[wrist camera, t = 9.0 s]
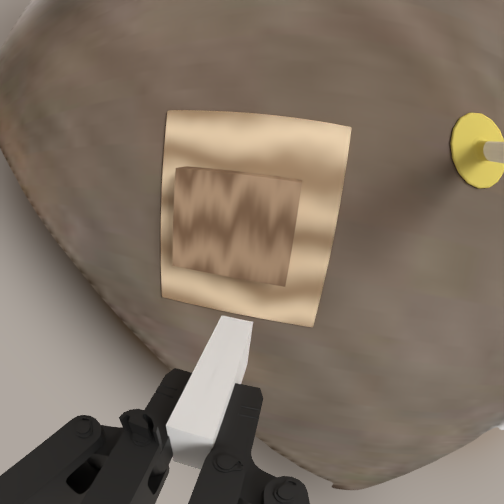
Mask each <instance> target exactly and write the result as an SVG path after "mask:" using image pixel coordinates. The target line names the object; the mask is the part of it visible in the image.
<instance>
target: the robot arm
mask: <svg viewBox="0 0 504 504" xmlns="http://www.w3.org/2000/svg"><path fill="white" fill-rule="evenodd" d="M252 326H253V322H251V321H246V320H241V319H236V318H231V317H226V316H221V318H220V320H219V322H218V324H217V326H216V328H215V330H214V332H213V334H212V336H211V338H210V340H209V342H208V343H207V345H206V347H205V349H204V351H203V353H202V355H201V357H200V359H199V361H198V363H197V365H196V367H195V369H194V371H193V373H190V372H187V371H183V370H180V369H176V368H175V369H173V370H172V371H170V372H169V373H168V374H166V375H165V377H164V378H163V380H162V382H161V384H160V386H159V387H158V388H157V390H156V393H154V395H153V397H152V398H151V400H150V402H149V403H148V405H147V407H146V408H145V410H140V409H133V410H129V411H127V412H124V413H123V414H122V415H121V416H120V417H119V419H120V421H121V423H122V426H123V428H118V427H110V426H103V425H100V423H99V422H98V421H97V420H96V419H95V418H93V417H91V416H86V415H81V416H77V417H75V418H74V419H72V420H71V421H69V422H68V423H67V424H65V425H64V426H63V427H62V428H60V429H59V430H58V431H57V432H56V433H54V434H53V435H52V436H51V437H49V438H48V439H47V440H45V441H44V442H43V443H42V444H41V445H39V446H38V447H37V448H35V449H34V450H33V451H32V452H30V453H29V454H28V455H26V456H25V457H24V458H23V459H21V460H20V461H19V462H18V463H16V464H15V465H14V466H12V467H11V468H10V469H8V470H7V471H6V472H5V473H3V474H2V475H1V476H0V504H155V502H156V500H157V498H158V496H159V494H160V491H161V489H162V487H163V485H164V481H165V480H166V478H167V476H168V473H169V463H170V461H171V458H172V456H173V460H174V461H176V462H179V463H182V464H185V465H188V466H191V467H195V468H198V469H201V471H200V474H199V477H198V479H197V482H196V485H195V487H194V490H193V492H192V495H191V498H190V501H189V503H188V504H310V503H309V497H308V492H307V489H306V487H305V485H304V484H303V483H302V482H301V481H300V480H298V479H296V478H293V477H287V476H282V477H275V476H272V475H270V474H268V473H266V472H264V471H262V470H261V469H259V468H258V467H257V466H256V465H255V464H254V462H253V460H252V457H251V449H252V445H253V441H254V437H255V432H256V428H257V424H258V419H259V415H260V411H261V406H262V402H263V396H262V393H261V390H260V388H257V387H252V386H247V385H242V384H241V382H242V379H243V376H244V372H245V369H246V366H247V361H248V354H249V347H250V340H251V333H252Z"/></svg>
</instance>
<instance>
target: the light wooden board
mask: <svg viewBox="0 0 504 504" xmlns="http://www.w3.org/2000/svg"><path fill="white" fill-rule="evenodd" d="M350 135H351V127H347V126H342V125H337V124H331V123H325V122H319V121H313V120H306V119H299V118H292V117H284V116H275V115H266V114H255V113H242V112H225V111H194V110H172V111H168V112H167V122H166V133H165V145H164V158H163V175H162V198H161V284H162V297H165V298H169V299H173V300H177V301H181V302H185V303H190V304H194V305H199V306H203V307H208V308H212V309H217V310H222V311H226V312H231V313H236V314H241V315H246V316H251V317H257V318H262V319H267V320H273V321H278V322H284V323H290V324H296V325H302V326H308V327H313V324H314V320H315V317H316V313H317V309H318V305H319V301H320V297H321V293H322V288H323V284H324V280H325V275H326V271H327V267H328V262H329V257H330V253H331V248H332V243H333V238H334V233H335V228H336V223H337V218H338V212H339V207H340V201H341V195H342V189H343V183H344V177H345V171H346V164H347V157H348V150H349V142H350ZM184 166H190V167H202V168H212V169H222V170H232V171H241V172H249V173H257V174H265V175H272V176H279V177H286V178H293V179H299V180H302V187H301V193H300V200H299V207H298V214H297V220H296V226H295V233H294V239H293V245H292V251H291V257H290V263H289V269H288V275H287V280H286V286H285V287H283V286H277V285H271V284H266V283H260V282H254V281H249V280H243V279H238V278H233V277H227V276H222V275H217V274H211V273H206V272H201V271H196V270H191V269H186V268H181V267H176V266H173V212H174V189H175V171H176V168H179V167H184Z"/></svg>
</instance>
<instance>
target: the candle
mask: <svg viewBox="0 0 504 504" xmlns="http://www.w3.org/2000/svg"><path fill="white" fill-rule="evenodd" d="M450 144H451V152H452V159H453V162H454V164H455V166H456V169H457V171H458V173H459V174H460V175H461V176H462V178H463V179H464V180H465V181H466V182H467V183H468V184H470V185H472V186H474V187H476V188H489V187H491V186H492V185H494V184H495V183H496V182H498V181H499V179H500V177H501V176H502V174H503V172H504V139H503V137H502V134H501V132H500V130H499V129H498V127H497V126H496V125H495V123H494V122H493V121H492V120H491V119H489V118H488V117H486V116H484V115H483V114H481V113H468V114H466V115H464V116H462V117H461V118H459V120H458V121H457V123H456V125H455V126H454V128H453V131H452V137H451V142H450Z"/></svg>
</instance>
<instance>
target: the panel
mask: <svg viewBox="0 0 504 504" xmlns="http://www.w3.org/2000/svg"><path fill="white" fill-rule="evenodd" d="M301 187H302V180H299V179H293V178H286V177H279V176H272V175H265V174H257V173H249V172H241V171H232V170H222V169H212V168H202V167H190V166H184V167H179V168H176V171H175V189H174V212H173V266H176V267H181V268H186V269H191V270H196V271H201V272H206V273H211V274H217V275H222V276H227V277H233V278H238V279H243V280H249V281H254V282H260V283H266V284H271V285H277V286H283V287H285V286H286V280H287V275H288V269H289V263H290V257H291V251H292V245H293V239H294V233H295V226H296V220H297V214H298V207H299V200H300V193H301Z"/></svg>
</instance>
